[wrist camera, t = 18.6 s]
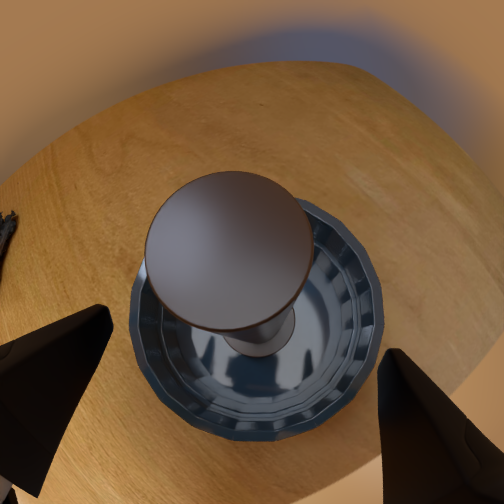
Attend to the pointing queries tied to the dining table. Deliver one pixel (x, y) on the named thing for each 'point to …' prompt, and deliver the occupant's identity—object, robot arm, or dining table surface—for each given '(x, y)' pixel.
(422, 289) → the dining table surface
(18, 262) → the dining table surface
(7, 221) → the beverage can
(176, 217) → the brown flanged post
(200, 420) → the bowl
